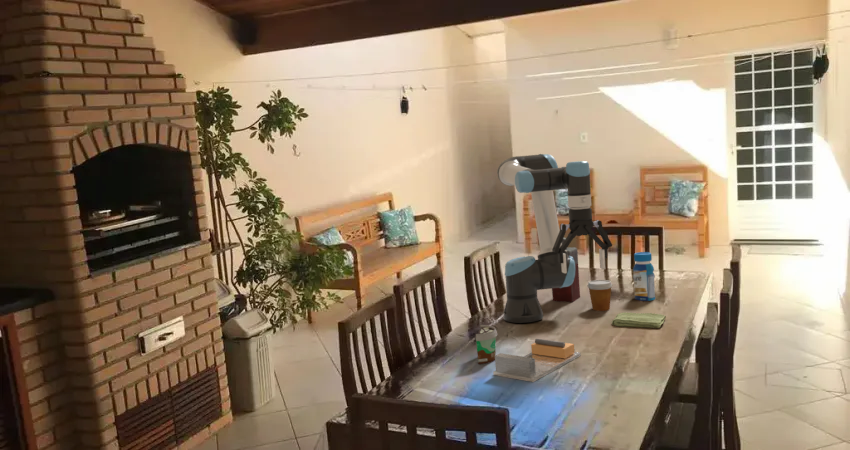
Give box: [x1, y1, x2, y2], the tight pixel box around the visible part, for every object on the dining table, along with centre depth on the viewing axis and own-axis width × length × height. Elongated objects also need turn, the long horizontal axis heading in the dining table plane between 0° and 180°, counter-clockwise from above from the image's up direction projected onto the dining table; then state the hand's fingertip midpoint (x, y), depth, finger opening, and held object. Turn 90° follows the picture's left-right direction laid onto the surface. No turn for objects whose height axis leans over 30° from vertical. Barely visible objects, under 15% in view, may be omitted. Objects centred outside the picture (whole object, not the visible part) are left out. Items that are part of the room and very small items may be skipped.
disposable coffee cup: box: [587, 279, 613, 312], centre depth 273 cm, size 10×10×12 cm
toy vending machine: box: [551, 237, 581, 303], centre depth 292 cm, size 9×11×28 cm
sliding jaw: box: [530, 338, 575, 358], centre depth 221 cm, size 12×6×5 cm, turn 49°
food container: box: [475, 324, 498, 365], centre depth 224 cm, size 12×6×10 cm, turn 168°
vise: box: [492, 351, 582, 383], centre depth 214 cm, size 14×28×6 cm, turn 139°
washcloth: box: [611, 312, 667, 329], centre depth 253 cm, size 13×18×3 cm
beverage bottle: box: [632, 251, 656, 302], centre depth 285 cm, size 8×8×20 cm
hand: (583, 270), depth 234 cm, fingers open, 13 cm apart
